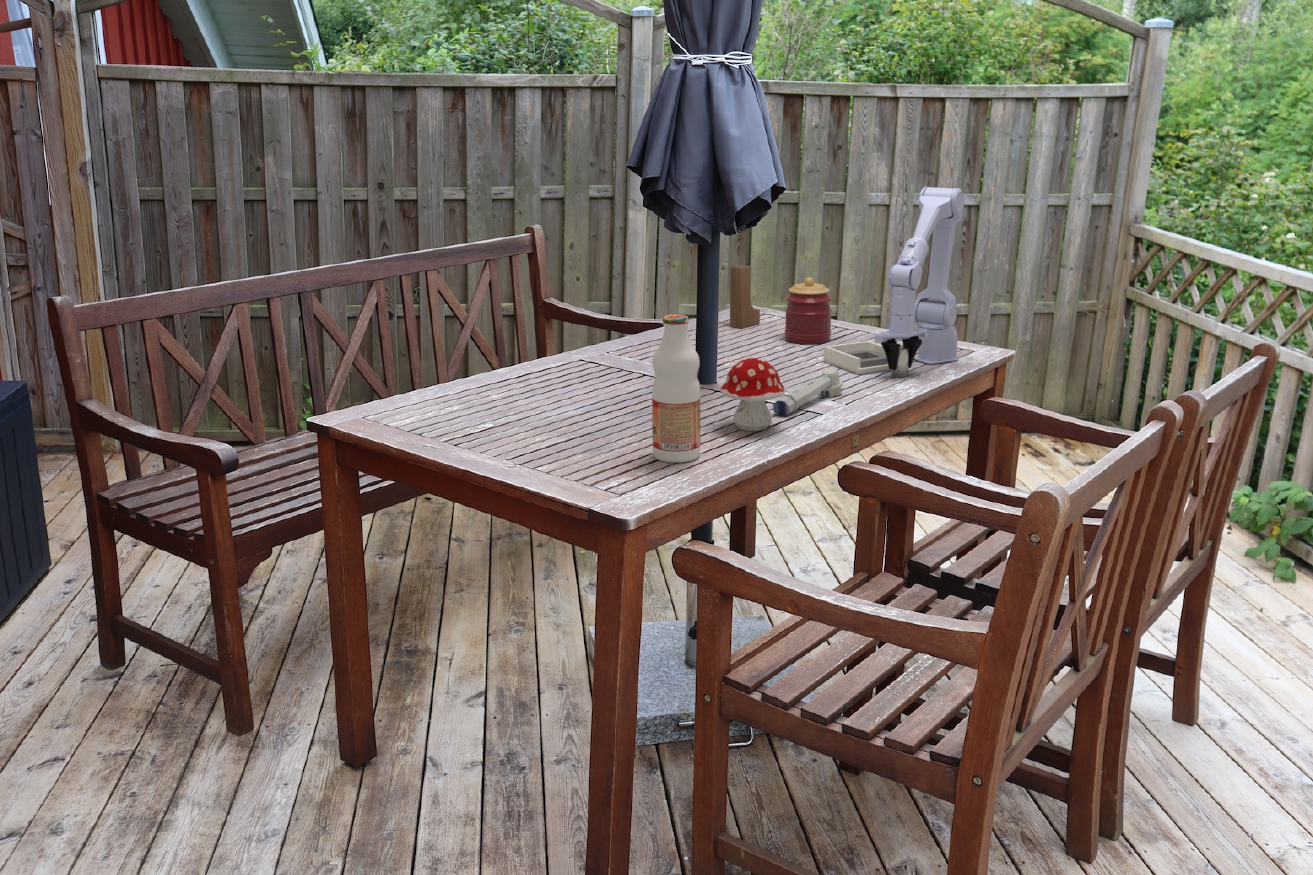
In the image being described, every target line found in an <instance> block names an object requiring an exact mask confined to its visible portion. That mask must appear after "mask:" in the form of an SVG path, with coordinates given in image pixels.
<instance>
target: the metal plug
mask: <svg viewBox="0 0 1313 875" xmlns="http://www.w3.org/2000/svg"><path fill="white" fill-rule="evenodd" d="M908 363H909V348H908V347H904V346H903V345H901V346H900V349H899V352H898V357H897V367H896V370H892V371H890V375H891V377H893V378H897V379H898V378H899V379H902V378H904V379H905V378H908V376H909V368H908Z"/></svg>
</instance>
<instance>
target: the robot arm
mask: <svg viewBox="0 0 1313 875" xmlns="http://www.w3.org/2000/svg"><path fill="white" fill-rule="evenodd" d="M965 200H966V199H965V196H964V193H963V191H962V188H959V187H956V188H953V187H952V188H950V187H935V186H934V187H932V186H931V187H930V186H924V187H923V188H922V189H921V190H920V193H919V195H918V209H919V212H920V214H919V217H918V220H917V223H916V228H915V231H914V234H913V236H912V237H910V238H909V239H907V240H906V242H905V244H904V246H903V249H902V251H901V254H900V256H899V257H898V258H899V259H898V261H897V263H896V264H894V265H891V267H890V268H889V273H888V276H887V283H888V286H889V294H890V295H891V302H890V319H889V320H890V321H889V322H890V323H889V324H890V326H889V330H886V331H882V332H879V333H875V334H874V343H877V344H878V343H879V344H880V345H882V347H883V349H884V351H885V354H886V357H887V361H888V366H889V369H891V370H896V367H897V357H898V352H899V349H900V346H904V347H908V348H909V363H908V369H911V368H912V366H913V363H914V362H913V361H918V362H920V363H924V364H927V365H935V364H936V365H937V364H941V363H951V362H957V361H959V358H957V351H958V332H957V329H956V328H955V327H954V326H953V325H954V324H955V322H956V319H957V315H958V314H957V313H958V312H957V298H956V296H955V295H954V294H953V293H952V292H951V291H950V290H949V289H948V284H949V283H948V282H949V277H950V276H949V275H950V268H951V263H952V262H951V261H952V254H953V247H954V239H955V230H956V227H957V224H958V223H961V222H962V219H963V217H964V216H963V215H964V206H965ZM933 231H934V234H933V235H934V236H933V242H932V248H931V249H932V251H931V258H930V263H929V264H930V265H929V272H928V280H927V286H926V288H925V289H923V290H922V291H920V292H919V293H918V294H917V289H918V288H919V287H920V284H921V281H922V274H923V264H924V263H925V260H926V258H927V254H928V252H929V250H930V249H929V248H930V247H929V244H928V241H929V239H930V238H931V235H932V233H933ZM930 299H931V300H930ZM932 299H933V300H932ZM938 300H941V301H938ZM915 323H916V326H917V327H918V328H917V327H915ZM900 340H901V341H902V345H901V343H898V341H900ZM916 354H917V355H916Z"/></svg>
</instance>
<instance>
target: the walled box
mask: <svg viewBox="0 0 1313 875" xmlns="http://www.w3.org/2000/svg"><path fill="white" fill-rule="evenodd" d="M823 363H826V364H828V365H831V366H834V367H836V368H839V369H842V370H845V371H847V372H850V373H851V374H855V375H857V376H863V375H871V374H878V373H885V372H891V371H892V370H891V369H889V366H888V361H887V357H886V354H885V351H884V349H883V347H882V345H881V344H880V343H879V344H878V343H877V342H873V341H869V340H864V341H858V342H849V343H844V344H843V343H842V344H834V345H827V346H823Z"/></svg>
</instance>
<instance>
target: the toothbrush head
mask: <svg viewBox="0 0 1313 875" xmlns="http://www.w3.org/2000/svg"><path fill="white" fill-rule="evenodd" d="M843 384H844V382H843V380H842V379H840V375H839V371H838V370H837V368H832V367H831V368H827V369H824V370H823V371H822V374H821V375H820V376H819V377H817V378H815V379H813V380H811V381H809V382H807V383H805V384H804V385H802V386H800V387H798V388H796V389H794V390H793V391H791V392H789V393H788V394H787V393H784V394H783V395H782V396H781V397H779V398H778V400H776V401H775V402H774V403H772V411H773V412H774V414H775V415H776V416H779V417H783V418H784V417H786V416H789V415H790V414H794V413H795V412H796V411H797V410H798V408H799V407H801V406H803V405H804V404H806V403H807V402H808V401H809V400H811V399H813V398H814V397H815V396H817V395H818V394H820V396H821V395H822V396H821V397H824V398H833V397H835V396H836V397H839V396H840V395H842V388H843ZM838 395H839V396H838Z"/></svg>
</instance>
